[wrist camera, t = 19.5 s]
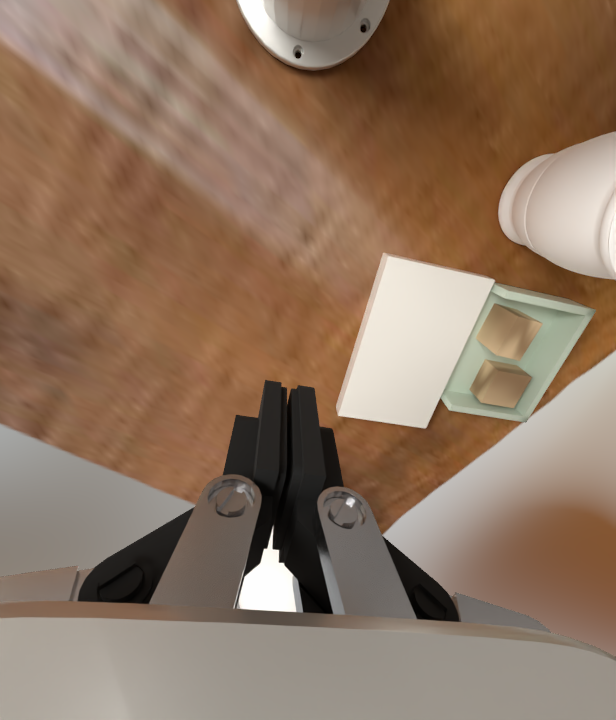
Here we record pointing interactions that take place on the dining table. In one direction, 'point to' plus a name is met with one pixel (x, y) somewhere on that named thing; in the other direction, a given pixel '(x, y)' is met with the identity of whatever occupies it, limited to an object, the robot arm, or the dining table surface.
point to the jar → (567, 207)
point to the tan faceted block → (508, 332)
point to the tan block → (500, 383)
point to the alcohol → (268, 584)
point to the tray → (538, 361)
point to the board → (410, 340)
